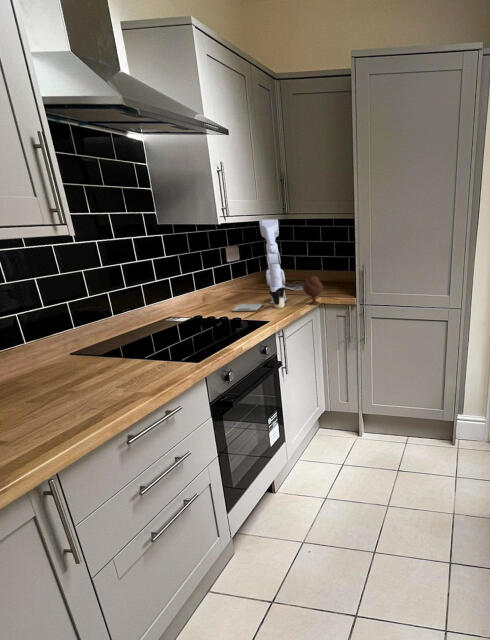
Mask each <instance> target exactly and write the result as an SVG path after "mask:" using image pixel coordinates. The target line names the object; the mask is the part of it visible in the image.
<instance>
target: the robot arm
mask: <svg viewBox="0 0 490 640" xmlns="http://www.w3.org/2000/svg"><path fill="white" fill-rule="evenodd" d="M258 223H259V230H260V235H261V237H262V238H264V239H265V241H266V244H265V248H266V262H267V265H268V266H267V267H268V269H267V270H266V272H265V276H266V284H267V286H269V291H268V293H269V295H270V297H271V301H269V303H270V304H273V305H274V304H275V305H279V297H284V303H286V302H287V300H288V298H286V297H287V296H286V286H285V285H286V276H285V272H284V270H283V269H282V268H281V256H280V255H281V254H280V252H279V248H278V243H277V242H276V239H277V237H279V236H280V235H279V234H280V231H279V229H280V227H279V220H278V219H277V218H275V219H274V218H273V219H271V218H270V219H259V220H258ZM273 301H274V303H273Z"/></svg>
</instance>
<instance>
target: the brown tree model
mask: <svg viewBox="0 0 490 640" xmlns="http://www.w3.org/2000/svg"><path fill="white" fill-rule="evenodd" d="M323 290H324V285H323V284H322V282H321V281H320V278H319V277H317V276H315V275H312V276H310V277H309V278H308V279H306V280H305V281H304V283H303V286H302V291H304V293H305V294H306V295H308V296H309V297H311V298H312V300H311V301H310V302H309V305H311V306H316V305H320V303H321V302H320V301H318V300H317V298H316V297H318V296H319V295H320V294H321V293H322V292H323Z"/></svg>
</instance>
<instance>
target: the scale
mask: <svg viewBox="0 0 490 640" xmlns="http://www.w3.org/2000/svg"><path fill="white" fill-rule="evenodd" d="M264 306H265V305H264V303H240V304H239V305H237V306H236V307H234V308H232V309H231V313H256V312H258V311H259V310H261V309H262V308H264Z"/></svg>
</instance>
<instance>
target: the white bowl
mask: <svg viewBox="0 0 490 640" xmlns="http://www.w3.org/2000/svg"><path fill="white" fill-rule="evenodd" d="M272 304H273V307H274V308H275V309H282V308H285V305H286V304H285V302H284V297H279V305H275V304H274V301H273V303H272Z"/></svg>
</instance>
